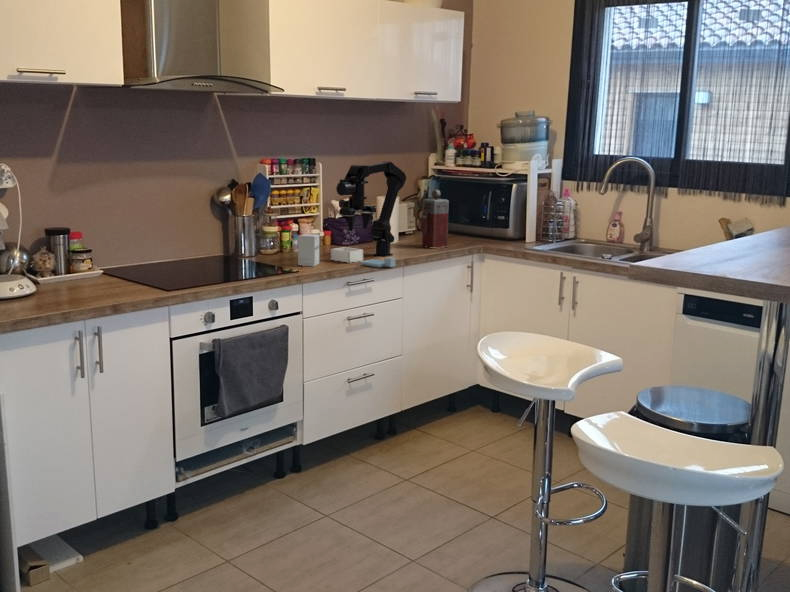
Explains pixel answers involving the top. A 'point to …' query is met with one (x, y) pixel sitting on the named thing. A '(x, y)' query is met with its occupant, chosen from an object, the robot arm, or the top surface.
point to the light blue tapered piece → (379, 262)
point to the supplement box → (308, 249)
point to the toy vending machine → (435, 221)
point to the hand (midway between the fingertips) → (357, 230)
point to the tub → (347, 254)
